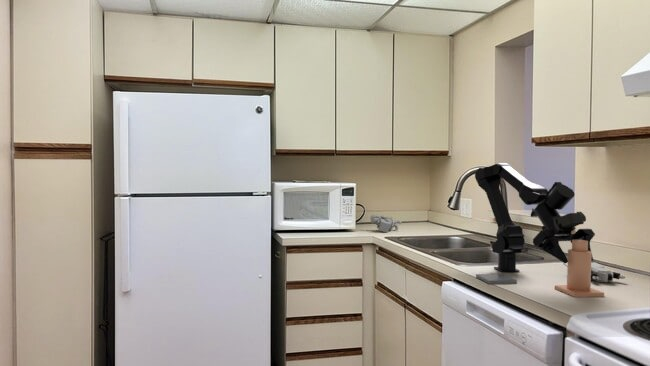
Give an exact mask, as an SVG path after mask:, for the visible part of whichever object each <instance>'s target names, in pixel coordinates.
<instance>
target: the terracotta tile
mask: <svg viewBox="0 0 650 366" xmlns="http://www.w3.org/2000/svg"><path fill="white" fill-rule="evenodd" d="M554 289H555V290H557V291H559V292H561V291H562V292H561V293H563V294H567V295H568V294H569V295H568V296H571V297H574V298H584V297H585V298H586V297H587V298H589V297H605V292H604V291H600V290H599V289H595V288H592V287H590V291H587V292H582V291H574V290H570V289H568V288H567V284H561V285H560V284H557V285H556V284H555V285H554Z"/></svg>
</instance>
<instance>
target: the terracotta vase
mask: <svg viewBox="0 0 650 366" xmlns="http://www.w3.org/2000/svg"><path fill="white" fill-rule="evenodd" d="M591 257H593V251H592V250H591V251H588V241H586V240H577V239H575V240H572V243H571V248H569V249H567V260H568V262H567V263H566V265H567V266H566V268H567V269H566V271H567V272H566V285H567V288H568V289H570V290H574V291H582V292H587V291H590V288H592V287H591V284H592V283H591V281H592V279H591Z"/></svg>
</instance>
